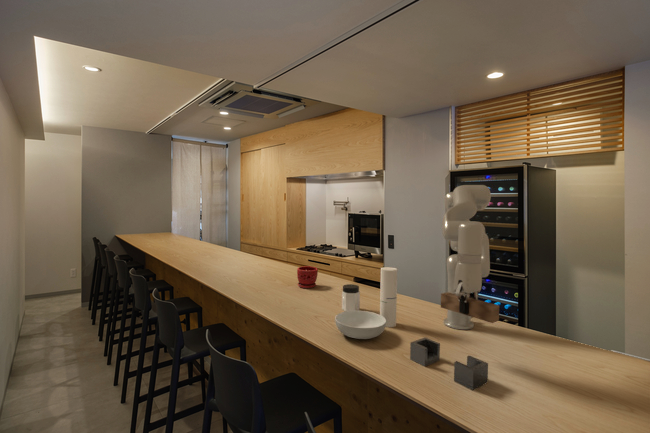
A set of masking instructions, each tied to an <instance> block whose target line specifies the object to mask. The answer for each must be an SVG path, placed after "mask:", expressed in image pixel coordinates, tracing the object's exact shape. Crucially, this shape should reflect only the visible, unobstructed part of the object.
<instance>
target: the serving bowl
mask: <svg viewBox="0 0 650 433" xmlns="http://www.w3.org/2000/svg"><path fill="white" fill-rule="evenodd" d="M334 321H335V326H336V328H337V329H338V331H339V332H340V333H341V334H343V335H344V336H346V337H349V338H352V339H357V340H358V339H359V340H368V339H374V338H376V337H379V336H380V335H381V334H382V333H383V332H384V330H386V327H385V326H386V319H385V318H384V317H383V316H381V315H380V313H376V312H373V311H367V310H358V311H343V312H340V313H338V314H336V315H335V317H334Z"/></svg>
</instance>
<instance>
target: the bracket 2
mask: <svg viewBox="0 0 650 433" xmlns="http://www.w3.org/2000/svg"><path fill="white" fill-rule="evenodd" d="M488 376H489V362H486V361H484V360H481V359H479V358H477V357H474V356H473V355H472V356H471V355H467V356H466V364H465V363H462V362H460V361H458V360H455V361H454V364H453V381H454V383H457V384H458V385H460V386H462V387H465V388H466V389H469V390H471V391H475V390H476V389H478V388H481V387H482V386H484V385H486V384H488V383H487V382H489V381H488V380H489V377H488ZM485 383H486V384H485ZM483 384H484V385H483Z"/></svg>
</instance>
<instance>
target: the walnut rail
mask: <svg viewBox="0 0 650 433" xmlns="http://www.w3.org/2000/svg"><path fill="white" fill-rule="evenodd" d="M464 297H465V296H464ZM459 302H460V301H459V298H458V297H457V296H456V295H455V294H453V293H449V292H448V291H446V292H443V293H440V308H442V309H445V310H447V311H448V310H451V311H454V312H458V313H460V312H459ZM468 303H469V314H464V315H467V316H471V317H473V318H474V319H477V320H480V321H484V322H487V323H491V324H494V323H496V322H499V320H500V305H499V304H495V303H491V302H488V301H484V300H480V299H478V300H476V299H473V298H469V297H468ZM461 314H463V313H461Z"/></svg>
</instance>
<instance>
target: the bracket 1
mask: <svg viewBox="0 0 650 433" xmlns="http://www.w3.org/2000/svg"><path fill="white" fill-rule="evenodd" d="M409 344H410V349H409V350H410V351H409V357H410V358H409V360H410V361H412V362H415V363H417V364H418V365H421V366H423V367H427V366H429V365H431V364H435V363H436V362H439V361H441V360H440V354H441V352H440V351H441V344H440V342H439V341H435V340H433V339H430V338H428V337H423V338H419V339H417V340H414V341H411V342H410V343H409Z"/></svg>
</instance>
